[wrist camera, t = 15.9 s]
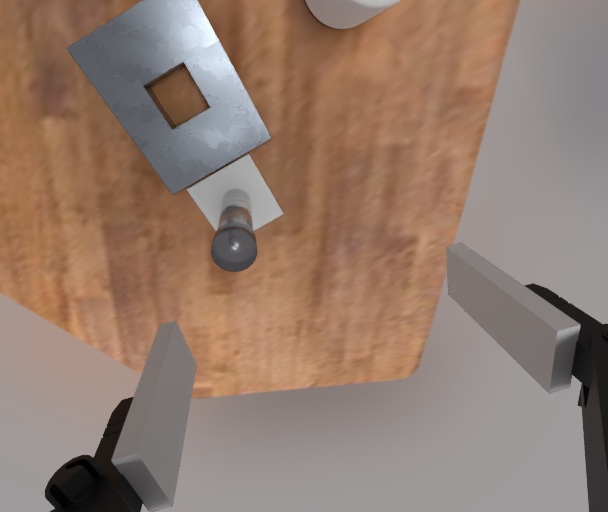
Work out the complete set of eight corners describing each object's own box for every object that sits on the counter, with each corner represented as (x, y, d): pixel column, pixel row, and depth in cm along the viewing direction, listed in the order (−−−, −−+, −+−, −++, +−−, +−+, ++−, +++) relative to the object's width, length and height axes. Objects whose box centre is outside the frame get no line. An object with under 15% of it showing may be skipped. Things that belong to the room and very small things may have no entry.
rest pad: (186, 188, 40) (186, 189, 39) (248, 153, 39) (248, 153, 39) (226, 244, 43) (226, 246, 43) (283, 213, 43) (283, 214, 42)
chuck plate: (77, 51, 33) (66, 48, 31) (187, -18, 32) (183, -26, 30) (176, 189, 39) (172, 194, 37) (269, 135, 39) (271, 138, 36)
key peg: (221, 217, 41) (212, 272, 29) (219, 187, 40) (209, 231, 27) (253, 217, 42) (257, 270, 29) (252, 186, 40) (256, 230, 28)
